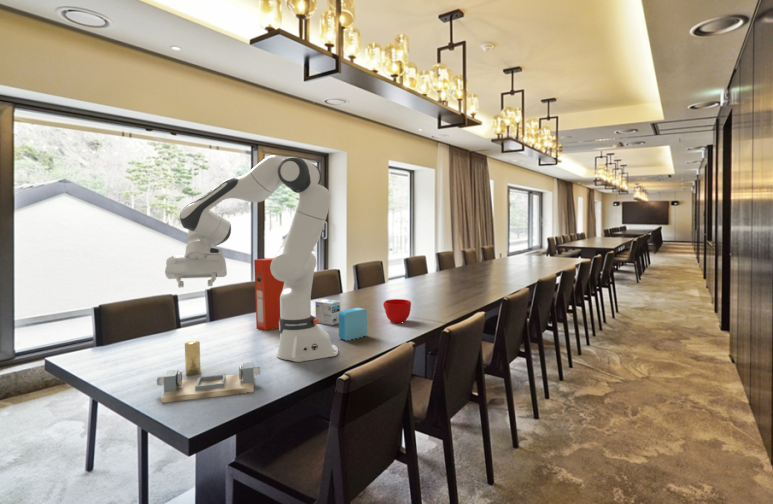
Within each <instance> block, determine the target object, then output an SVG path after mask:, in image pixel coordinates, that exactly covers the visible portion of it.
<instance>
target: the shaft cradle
mask: <svg viewBox="0 0 773 504" xmlns="http://www.w3.org/2000/svg"><path fill="white" fill-rule="evenodd" d="M260 375H261V366H254V362H243V363H242V365H239V367H238V373H237V374H229V375H228V374H227V375H226V374H225V373H223V374H214V375H206V376H205V375H204V376H199V377H198V378H189V379H183V371H179V369H173V370H166V372H165V373H164V376H157V379H156V385H157V386H158V387H159V386H163V394H162V396H161V404H163V403H173V402H182V401H188V400H198V399H199V400H200V399H205V398H207V399H208V398H215V397H222V396H223V397H224V396H230V395H239V393H241V394H246V393H247V392H249V393H254V392H255V391H254V390H255V389H254V385H255V383H254V382H255V376H260ZM247 394H248V393H247Z"/></svg>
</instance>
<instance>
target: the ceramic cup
mask: <svg viewBox="0 0 773 504" xmlns="http://www.w3.org/2000/svg"><path fill="white" fill-rule="evenodd" d="M411 307H412V301H411V300H408V299H402V298H399V299H398V298H395V299H387V300H385V301H384V302H383V308H384V312H385V316H386V318H387V319H388V320H389V321H390V323H392V322H393V323H392V324H403V323H402V322H404V323H405V322H406V321H407V320H408V319H409V316H410V313H411Z"/></svg>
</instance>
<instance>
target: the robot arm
mask: <svg viewBox="0 0 773 504" xmlns="http://www.w3.org/2000/svg"><path fill="white" fill-rule="evenodd" d="M322 180H323V179H322V172H321V170H320V169H319V167H318V166H317V165H316V164H314V163H312V162H311V161H309V160H308V159H305V158H300V157H298V156H288V157H286V158H282V157H281V156H278V155H277V154H271V155H269V156H267V157H266V158H264V159H262V160H261V161H260V162H259V163H257V164H256V165H255V166H254V167H253V168H251V170H249V171H248V172H247V173H245V174H243V175H241V176H237V177H233V176H232V177H229V178H227V179H226V180H224V181H222V182H221V183H219V184H218V185H216V186H215V187H213V188H212V189H211V190H210V191H208V192H206V193H205V194H204V195H203V196H201V197H200V198H198V199H196V200H195V201H193V202H191V203H189V204H187V205H186V206H185V207H184V208H183V209H182V210H181V211H180V213H179V220H180V223H181V226H182V228H184V229H186V230H188V233H187V238H186V242H187V245H186V247H185V254H184V255H173V256H170V257H168V258H166V262H165V264H166V265H165V270H164V273H165V276H166V278H167V279H168V280H176V282H177V286H178V288H184V285H185V284H184V280H183V279H200V278H201V279H202V278H203V279H204V278H206V279H207V278H210V279H208V280H207V287H213V283H214V282H215V281H216V280H217V278H225V277H226V276H227V275H228V273H227V271H228V270H227V261H226V258H225V257H224V252H223V251H224V250H222V249H220V248H217V246H219V245H222V244H223V243H225V242H226V241H228V239H230V236H231V233H232V224H231V222H230V221H229V220H227V219H225V218H224V217H223V216H221V215H219V214H217V213H215V212H214V211H212V210H211V209H213V208H214V207H216V206H217V205H219V204H220V203H222V202H223V201H224V200H227V199H236V200H242V201H245V202H250V203H261V202H264V201H265V200H267V199H269V198H270V196H272V195H273V194H274V192H276V191H277V190H278V188H279V187H281V186H282V185H285V186H286V187H287V188H289V189H290V190H291V191H292V192H293V193H296V194H298V197H299V199H298V203H297V207H296V210H295V213H294V215H293V219H292V222H291V225H290V228H289V230H288V232H287V235H286V237H285V238H284V240H283V242H282V244H281V246H280V248H279V250H278V252H277V253H276V255H275V256H274V257H273V258H274V259H273V260H272V262H271V265H270V270H271V273H272V275H273V276H274V278H276V279H277V280H279V281H283V282H284V286H283V290H282V293H281V295H280V318H279V328H278V331H279V333H280V334H279V342H278V348H277V353H276V357H277V358H279V359H281V360H286V361H293V362H295V363H301V362H306V361H307V362H308V361H312V360H318V359H319V360H320V359H325V358H331V357H336V356H337V355H338V354H339V348H338V347H337V345H335V344H333V342H332V338H331V336H330V334H329V333H328V332H327V331H325V330H324V329H322V328H321V327H320V326H318V325H319V324H320V323H319V320H318V319H317V318H316V316H315V315H312V307H311V306H312V303H311V301H312V300H311V299H312V298H311V296H312V289H313V282H314V275H315V274H314V273H315V269H316V265H317V258H316V256H315V254H314V253H313V250H314V249H315V247H316V245H317V243H318V242H319V240H320V238H321V235H322V232H323V229H324V226H325V223H326V220H327V216H328V214H329V209H330V204H331V193H330V191H329V189H328V188H326V187H325V186H324V185H321V182H322Z"/></svg>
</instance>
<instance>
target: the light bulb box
mask: <svg viewBox="0 0 773 504" xmlns="http://www.w3.org/2000/svg"><path fill="white" fill-rule="evenodd" d="M314 304H315V317H316V318H317V319H318V320H319V323H318V324H323V325H328V326H334V325H337V324H339V313H340V311H341V301H340V300H333V299H332V300H331V299H325V298H323V299H320V300H315V303H314Z"/></svg>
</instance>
